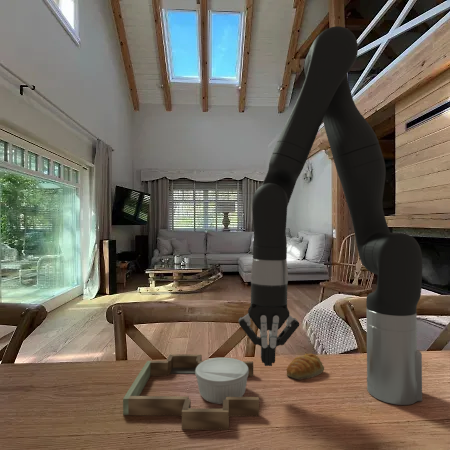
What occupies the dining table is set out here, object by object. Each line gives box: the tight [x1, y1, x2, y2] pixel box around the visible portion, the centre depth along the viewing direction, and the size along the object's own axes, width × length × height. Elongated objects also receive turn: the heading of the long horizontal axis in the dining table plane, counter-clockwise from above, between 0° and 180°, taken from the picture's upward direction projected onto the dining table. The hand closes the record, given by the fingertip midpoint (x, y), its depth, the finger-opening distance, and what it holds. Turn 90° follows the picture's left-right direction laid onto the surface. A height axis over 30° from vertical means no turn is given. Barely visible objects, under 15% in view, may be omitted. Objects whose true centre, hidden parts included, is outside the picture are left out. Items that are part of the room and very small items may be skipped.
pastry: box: [285, 353, 325, 380], centre depth 77 cm, size 9×7×4 cm
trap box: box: [122, 353, 260, 431], centre depth 68 cm, size 25×25×3 cm
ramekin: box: [194, 357, 249, 405], centre depth 68 cm, size 11×11×5 cm
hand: (267, 364), depth 67 cm, fingers closed
